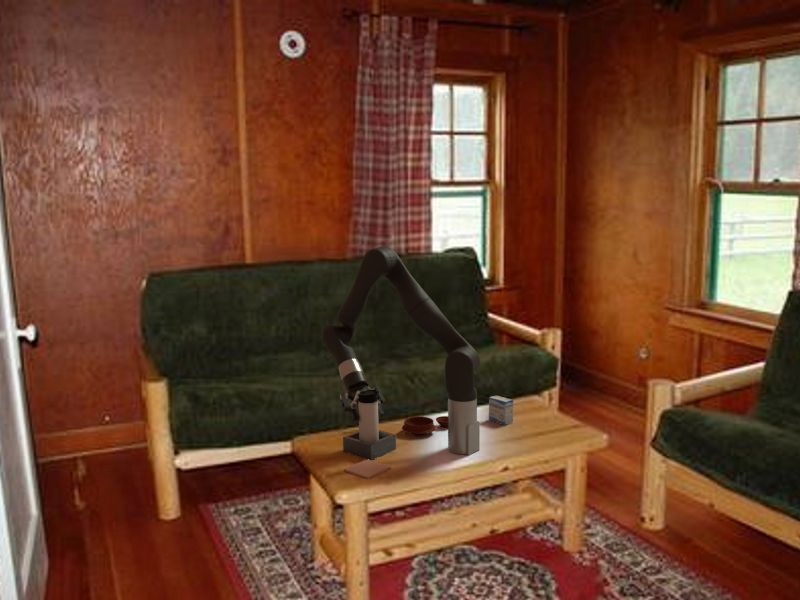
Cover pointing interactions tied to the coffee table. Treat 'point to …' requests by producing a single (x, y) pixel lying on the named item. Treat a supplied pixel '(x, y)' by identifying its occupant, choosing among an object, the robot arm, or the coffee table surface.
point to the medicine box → (500, 410)
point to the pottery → (423, 425)
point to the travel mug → (368, 416)
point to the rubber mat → (367, 468)
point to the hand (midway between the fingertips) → (369, 418)
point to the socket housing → (369, 445)
